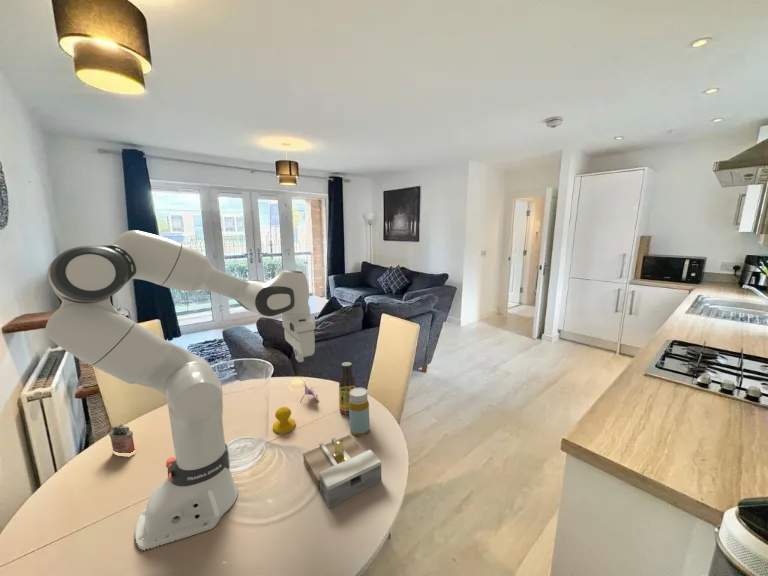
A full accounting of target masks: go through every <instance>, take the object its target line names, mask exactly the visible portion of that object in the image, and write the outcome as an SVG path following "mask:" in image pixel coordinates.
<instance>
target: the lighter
mask: <svg viewBox="0 0 768 576" xmlns="http://www.w3.org/2000/svg"><path fill="white" fill-rule="evenodd" d="M111 429H112V430H111V431H109V433H108V436H109V437H110V443H111V447H112V452H113V451H115V452H118V453H131V452H133V451H134V450H136V448H135V442H134V437H133V435H134V433H133V431H131V430H130V427H129V426H127V425H123V424H121V423H120V424H118V425H117V424H114V425H112V426H111Z"/></svg>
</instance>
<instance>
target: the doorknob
mask: <svg viewBox="0 0 768 576" xmlns="http://www.w3.org/2000/svg"><path fill="white" fill-rule="evenodd" d="M291 415H292V410H291V409H290V407H288V406H281V407H279V408H278V409H277V410H276V411H275V414H274V416H275V418H276V420H277V421H275V422H274V423H273V425H272V431H273V432H274V433H276V434H279V435H280V434H287V433H289V432H291V431H293V430H294V429H295V428H296V426H297V425H296V420H295V419H293V418H291Z"/></svg>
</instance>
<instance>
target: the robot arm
mask: <svg viewBox="0 0 768 576" xmlns="http://www.w3.org/2000/svg"><path fill="white" fill-rule="evenodd" d="M46 276H47V282H48V284H49V285H50V287H51V289H52V291H53V292H54V294H55V296H56V298H57V300H58V302H59V304H60V307H58V309H57V310H55V311H54V312H53V313H52V314H51V316H49V318H48V320H47V322H46V325H45V330H44V331H45V334H46V336H47V338H48V339H49V340H50V341H52V342H53V343H54V344H56V345H57V346H58V347H60V349H63V350H64V351H65V352H66V353H68V354H69V355H72V356H73V357H75V358H76V359H78V360H80V361H82V362H83V363H85V364H88V365H90V366H91V367H94V368H96V369H98V370H100V371H102V372H104V373H105V374H108V375H110V376H111V377H114V378H116V379H118V380H119V381H120V380H121V381H122V382H124V383H126V384H130V385H135V384H136V385H140V386H144V387H148V388H151V389H154V390H157V391H159V392H160V393H162V394H163V395H164V396H165V398H166V402H167V408H168V414H169V421H170V428H171V429H170V430H171V437H172V442H173V443H172V444H173V448H174V450H173V451H174V456H175V457H174V456H170V457H168V458H167V460H166V461H165V467H166V469H167V478H166V479H164V480H163V481H162V482H161V483H160V484H159V485H158V486H157V487H156V488H155V489H154V490H153V491H152V492H151V493H150V496H149V498H148V501H147V504H146V506H145V508H144V509H143V511H142V512H141V514H140V515H139V517H138V519H137V521H136V526H135V531H134V533H135V535H134V536H135V539H136V541H135V544H136V543H137V545H138V547H139V548H141V549H142V550H144V549H148V550H150V549H149V548H151V549H154V548H157V547H160V546H159V545H161V546H162V545H163V544H164V545H166V543H167V544H169V542H170V543H172V542H176V541H179V540H182V539H185V538H188V537H191V536H193V535H197V534H200V533H203V532H206V531H210V530H212V529H214V528H215V527H216V526H217V525H218V523H219V522H220V520H221V519H222V517H223V516H224V514H226V513H227V512H228V510H230V508H231V507H232V506H233V505H234V504H235V502H236V500H237V499H238V494H239V489H238V486H237V484H236V483H235V481H234V479H233V476H232V472H231V469H230V465H231V464H230V463H231V462H230V461H231V460H230V453H229V448H228V445H227V443H226V438H225V432H224V430H225V429H224V422H223V413H224V411H223V409H224V406H223V405H224V402H223V400H224V399H223V386H222V382H221V381H220V379H219V378H218V376H217V374H216V373H215V371H214V370H213V368H212V367H211V365H210V363H209V362H208V361H207V360H205V359H203V358H202V357H200V356H199V355H197V354H195V353H192V352H191V351H189V350H186V349H185V348H182V347H181V346H178V345H177V344H173V343H172V342H170V341H167V340H166V339H164V338H163V337H161V336H159V335H157V334H156V333H154V332H152V331H151V330H149V329H147V328H146V327H144V326H142V325H141V324H139V323H138V322H136V321H134V320H133V319H131V318H128V317H127V316H125V315H124V314H123V313H120V312H119V311H118V310H116V308H115V307H114V306H113V304H112V302H111V297H112V296H114V295H115V294H117V293H118V292H119V291H120V290H121V289H122V288H124V286H125V285H126V284H127V283H128V282H129V281H130V280H142V281H146V282H150V283H153V284H155V285H158V286H161V287H165V288H168V289H171V290H176V291H182V292H189V293H193V292H198V291H209V292H213V293H215V294H219V295H222V296H225V297H227V298H230V299H233V300H235V301H236V302H237V303H238V304H239V306H241V307H243V308H244V309H245V310H247V311H250V312H254V313H256V314H259V315H261V316H264V317H275V316H277V315H281V323H282V328H284V329H283V330H284V338H285V339H284V340H285V341H286V342H287V343H288V344H289V345H290V346H291V347H292V348H293V351H294V355H295V360H296V361H297V362H298V363H303V362H304V361H305V360H304V359H305V357H309V356H310V357H311V356H312V355H313V356H314V353H315V349H316V345H315V343H316V340H315V339H316V338H315V332H314V330H316V323H315V321H314V319H313V318H312V315H311V308H310V305H309V299H310V291H309V290H310V289H309V283H308V279H307V278H308V277H307V275H306V274H305V272H303V271H299V270H293V269H283V270H281V271H280V272H279V273H278V274H277V275H276V276H275V277H273V278H271V279H269V280H268V281H266V282H264V281H262V280H259V279H241V278H238V277H236V276H234V275H231V274H229V273H225V272H224V271H221V270H219V269H217V268H216V267H214V266H213V265H212V262H211V260H210V259H209V258H208V257H207V256H206V255H203V254H202V253H201V252H199V251H197V250H195V249H194V248H192V247H189V246H187V245H185V244H184V243H180V242H178V241H175V240H173V239H170V238H167V237H164V236H160V235H157V234H153V233H150V232H146V231H141V230H136V229H133V230H127V231H124V232H123V233H121V234H120V235H119V236H117V238H116V239H115V240H114V241H113V244H105V245H84V246H83V245H82V246H77V247H73V248H72V247H71V248H69V249H66V250H65V251H63V252H61V253H60V254H59V255H58V256H56V257H55V258H54V259H53V260H52V261H51V263H50V264H49V266H48V269H47V273H46ZM144 514H145V515H144ZM142 538H144V539H143V540H142V541H140V540H141V539H142ZM135 539H134V540H135ZM175 540H176V541H175ZM137 545H136V546H137ZM156 546H157V547H156ZM138 547H137V548H138ZM153 547H154V548H153ZM139 548H138V549H139ZM142 550H141V551H142ZM144 551H145V550H144Z"/></svg>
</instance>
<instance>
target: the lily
mask: <svg viewBox="0 0 768 576" xmlns="http://www.w3.org/2000/svg"><path fill="white" fill-rule="evenodd" d="M300 379H301V380H302V382H303V383H304V384H303V387H304V393H303V396H302V397H301V400H300V402H299V403H300V404H301V402H302V401H303V399H304V397H305V396H306V395H309V396H313V397H315V398H316V399H317V400H319V398H318V397H317V393H316V392H315V390H314V389H313V387H309V386H308V385H307V383H306V382H305V380H304V379H303V378H302V377H300Z"/></svg>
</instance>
